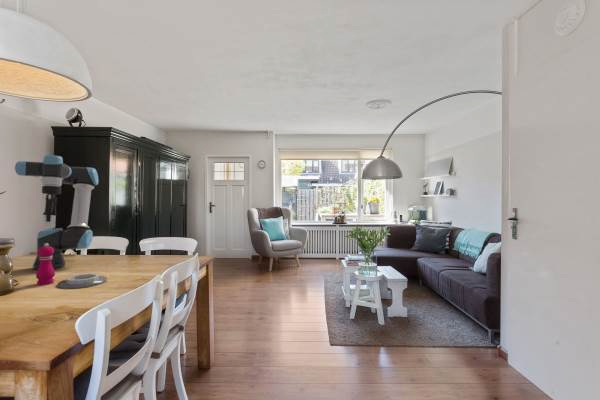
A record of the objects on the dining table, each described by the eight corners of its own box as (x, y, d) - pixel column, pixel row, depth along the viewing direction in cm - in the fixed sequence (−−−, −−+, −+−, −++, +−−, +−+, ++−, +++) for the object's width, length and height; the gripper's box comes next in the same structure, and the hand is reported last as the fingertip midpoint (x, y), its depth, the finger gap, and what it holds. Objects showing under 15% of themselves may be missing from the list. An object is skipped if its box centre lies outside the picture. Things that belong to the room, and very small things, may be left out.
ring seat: (62, 280, 153) (62, 274, 153) (108, 276, 162) (108, 270, 162) (52, 290, 135) (52, 284, 135) (105, 285, 145) (105, 279, 145)
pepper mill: (46, 285, 142) (47, 244, 143) (31, 285, 143) (32, 244, 143) (58, 281, 150) (59, 242, 150) (44, 281, 150) (45, 241, 150)
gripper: (45, 187, 158) (43, 227, 156) (38, 183, 137) (35, 229, 136) (63, 188, 162) (61, 227, 161) (58, 184, 141) (56, 228, 140)
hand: (49, 228), depth 148 cm, fingers open, 13 cm apart
